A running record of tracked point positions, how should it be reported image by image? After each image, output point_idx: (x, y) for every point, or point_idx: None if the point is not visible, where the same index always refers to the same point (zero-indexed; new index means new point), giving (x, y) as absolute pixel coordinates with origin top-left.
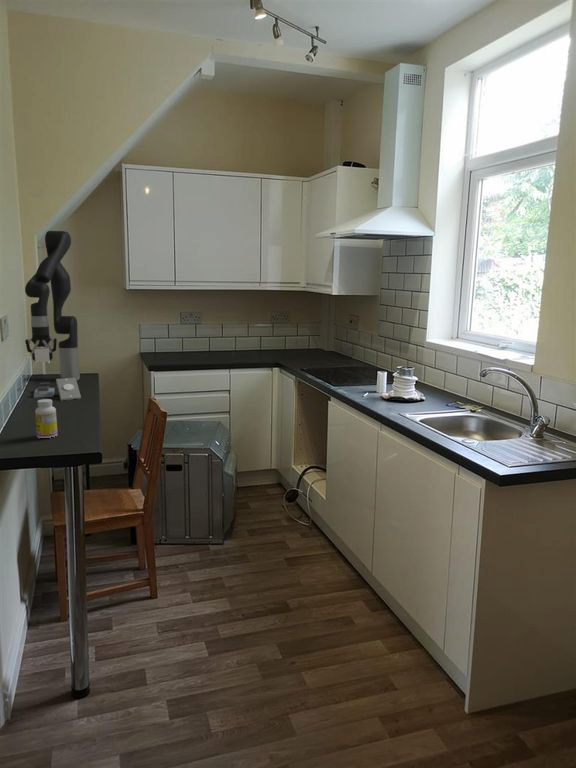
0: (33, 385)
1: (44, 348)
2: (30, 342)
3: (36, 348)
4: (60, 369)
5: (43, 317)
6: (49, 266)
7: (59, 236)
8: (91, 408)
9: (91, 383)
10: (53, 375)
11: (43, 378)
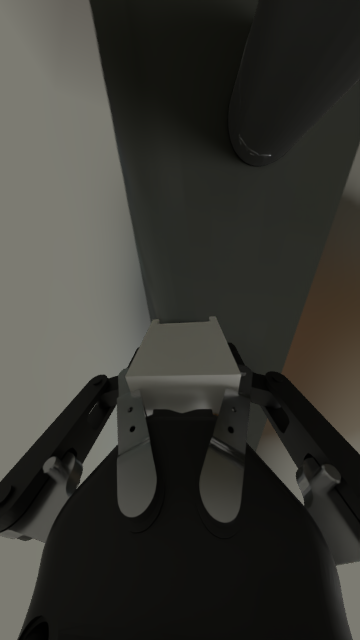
0: (142, 228)
1: (203, 404)
2: (78, 478)
3: (143, 396)
4: (249, 79)
5: None
6: None
7: None
8: (257, 435)
9: (325, 227)
10: None
11: None
